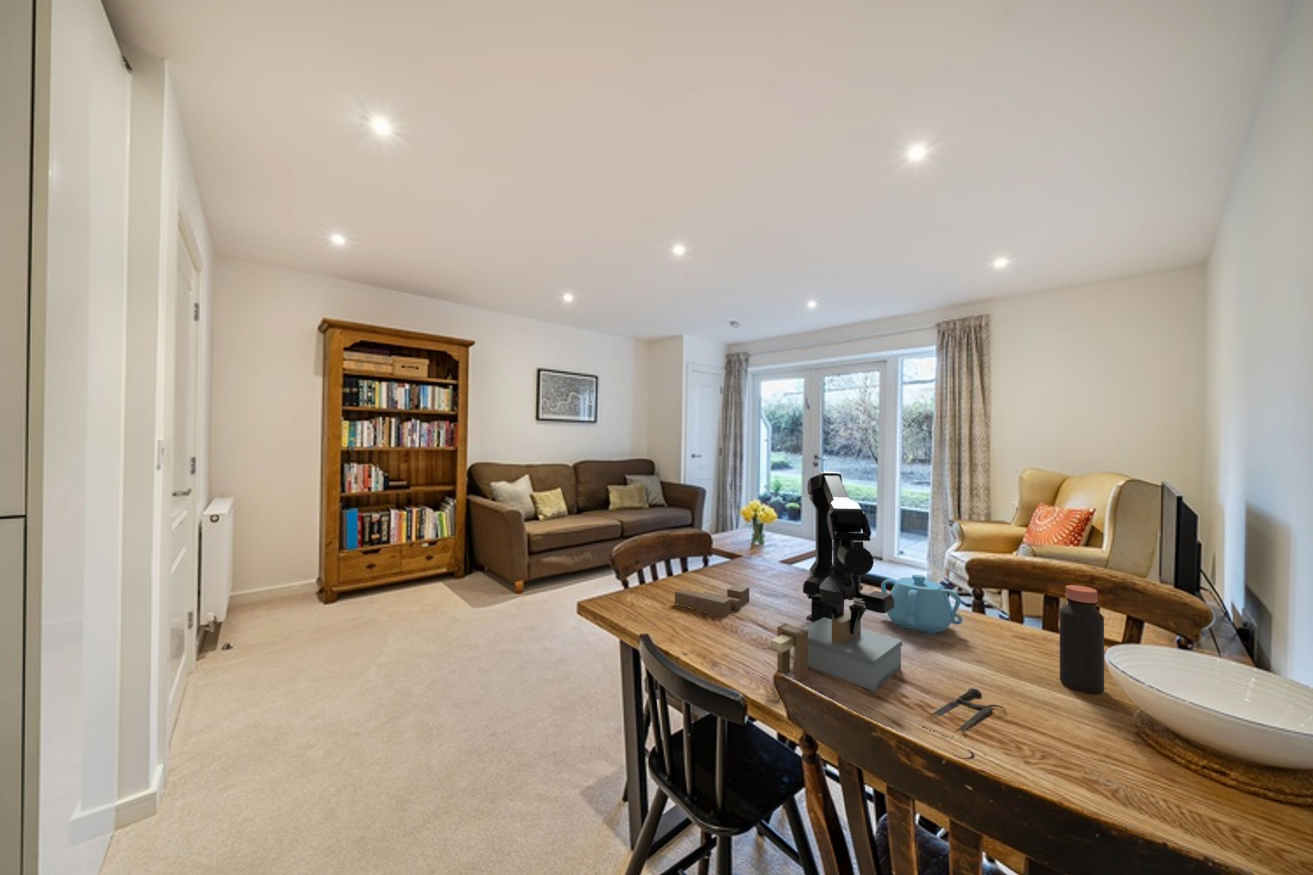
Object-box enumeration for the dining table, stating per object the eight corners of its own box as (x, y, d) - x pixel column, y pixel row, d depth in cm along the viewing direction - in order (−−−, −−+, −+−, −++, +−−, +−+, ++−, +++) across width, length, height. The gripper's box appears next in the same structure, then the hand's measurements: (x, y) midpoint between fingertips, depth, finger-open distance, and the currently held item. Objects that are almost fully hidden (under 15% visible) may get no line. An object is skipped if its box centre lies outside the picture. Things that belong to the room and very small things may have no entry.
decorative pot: (933, 615, 137) (933, 567, 137) (968, 638, 121) (967, 584, 121) (876, 614, 138) (875, 567, 138) (902, 637, 122) (902, 583, 122)
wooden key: (796, 636, 106) (796, 627, 106) (806, 639, 104) (806, 630, 104) (770, 649, 99) (770, 640, 99) (780, 653, 98) (780, 643, 98)
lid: (824, 626, 119) (824, 599, 119) (902, 650, 105) (902, 619, 105) (792, 642, 109) (792, 613, 109) (874, 671, 95) (874, 638, 95)
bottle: (1069, 675, 102) (1069, 581, 102) (1110, 690, 96) (1110, 590, 96) (1053, 682, 99) (1052, 586, 99) (1094, 698, 93) (1094, 595, 93)
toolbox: (824, 642, 118) (824, 603, 118) (900, 668, 105) (900, 624, 105) (776, 670, 104) (776, 626, 104) (858, 704, 91) (858, 653, 91)
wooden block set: (726, 600, 134) (673, 588, 145) (726, 620, 134) (673, 606, 145) (752, 585, 148) (702, 575, 159) (752, 603, 148) (702, 592, 159)
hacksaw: (971, 692, 96) (971, 684, 96) (1033, 717, 87) (1033, 709, 87) (903, 731, 83) (903, 722, 83) (966, 765, 75) (966, 755, 75)
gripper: (790, 560, 108) (790, 629, 108) (873, 578, 95) (873, 657, 95) (815, 552, 116) (815, 617, 116) (895, 568, 102) (895, 641, 102)
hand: (846, 632), depth 107 cm, fingers closed on lid, 2 cm apart
